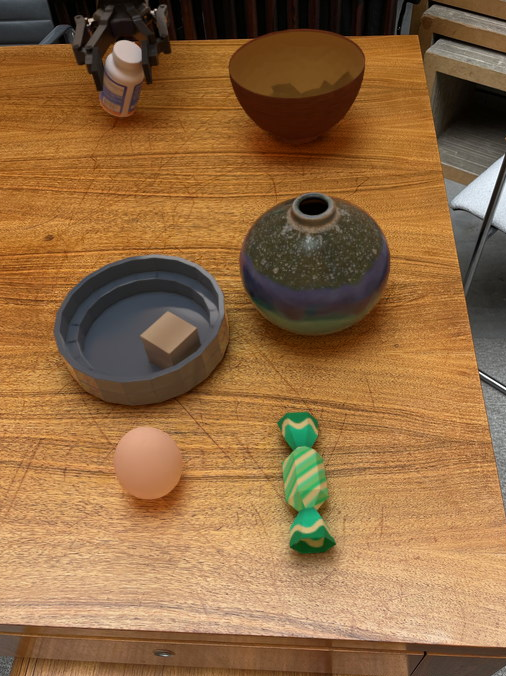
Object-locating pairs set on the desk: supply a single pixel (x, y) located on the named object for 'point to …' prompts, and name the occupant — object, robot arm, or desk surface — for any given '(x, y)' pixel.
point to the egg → (147, 463)
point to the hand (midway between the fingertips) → (122, 77)
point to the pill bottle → (122, 79)
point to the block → (170, 341)
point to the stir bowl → (139, 327)
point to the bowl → (297, 81)
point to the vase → (314, 264)
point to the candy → (305, 484)
